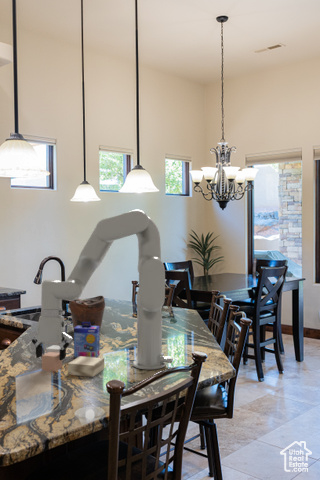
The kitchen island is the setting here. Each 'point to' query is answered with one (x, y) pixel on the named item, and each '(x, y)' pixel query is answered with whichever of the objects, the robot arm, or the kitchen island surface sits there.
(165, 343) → the kitchen island surface
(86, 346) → the ink cartridge box
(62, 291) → the robot arm
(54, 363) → the terracotta cube
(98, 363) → the maple base block
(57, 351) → the pale grey cube
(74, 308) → the brown tapered pot
